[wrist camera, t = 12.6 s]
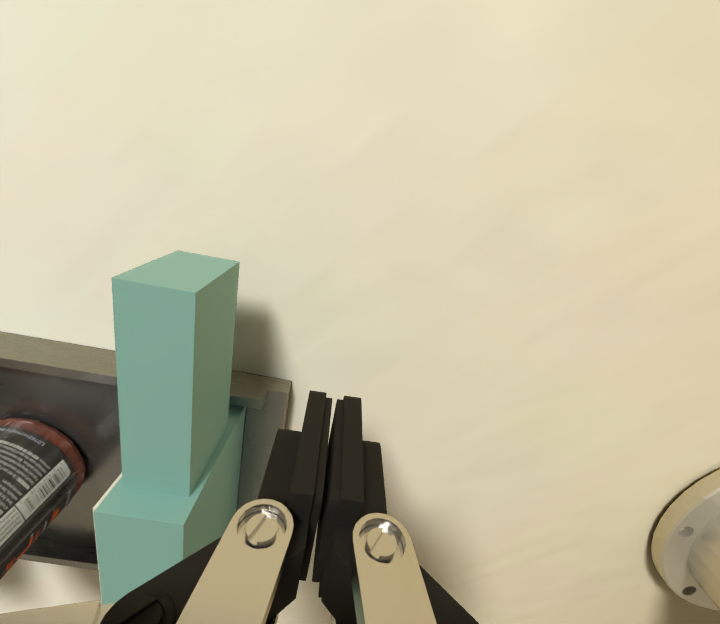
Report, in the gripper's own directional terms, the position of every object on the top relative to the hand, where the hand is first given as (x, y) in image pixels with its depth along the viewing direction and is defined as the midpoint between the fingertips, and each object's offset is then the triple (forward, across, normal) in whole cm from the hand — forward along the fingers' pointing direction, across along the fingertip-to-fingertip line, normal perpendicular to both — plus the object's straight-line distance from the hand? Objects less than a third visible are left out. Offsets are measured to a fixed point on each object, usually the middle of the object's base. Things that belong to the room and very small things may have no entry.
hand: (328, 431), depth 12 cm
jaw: (+6, +6, +6) cm, 11 cm away
